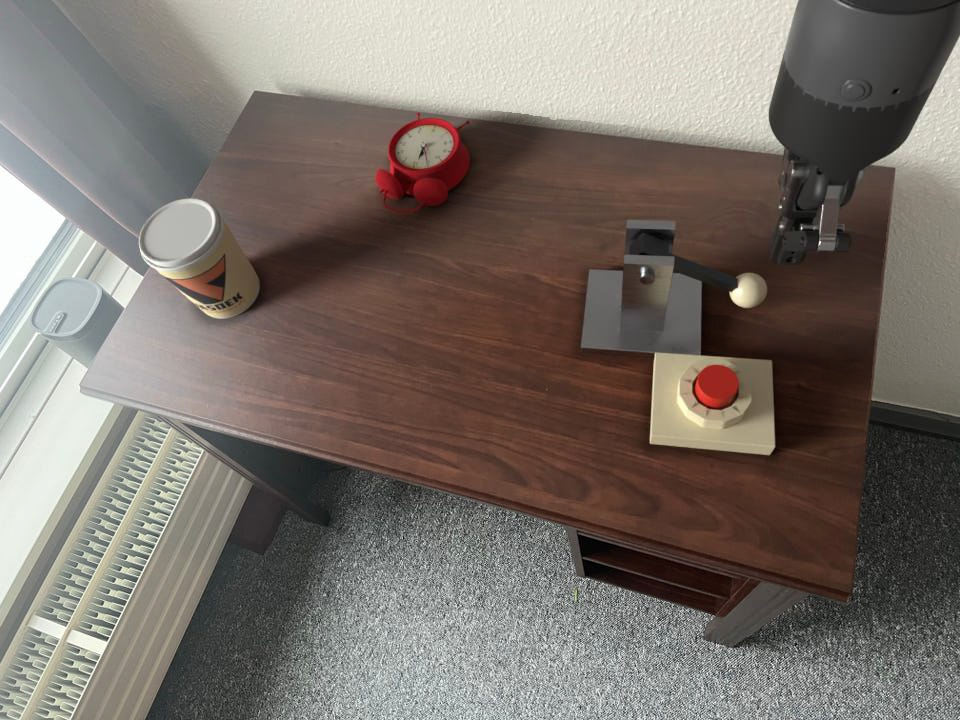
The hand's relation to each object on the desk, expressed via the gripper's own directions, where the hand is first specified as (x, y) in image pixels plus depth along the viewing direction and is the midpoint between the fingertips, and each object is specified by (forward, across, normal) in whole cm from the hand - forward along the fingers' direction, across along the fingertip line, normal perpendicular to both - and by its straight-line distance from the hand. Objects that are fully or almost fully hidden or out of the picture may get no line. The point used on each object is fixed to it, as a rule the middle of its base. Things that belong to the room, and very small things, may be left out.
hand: (785, 255), depth 50 cm
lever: (+14, +7, +5) cm, 16 cm away
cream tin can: (+20, +7, +59) cm, 62 cm away
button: (+17, -3, +3) cm, 17 cm away
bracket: (+20, +7, +10) cm, 23 cm away
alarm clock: (+20, +26, +38) cm, 50 cm away
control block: (+20, -3, +3) cm, 21 cm away
